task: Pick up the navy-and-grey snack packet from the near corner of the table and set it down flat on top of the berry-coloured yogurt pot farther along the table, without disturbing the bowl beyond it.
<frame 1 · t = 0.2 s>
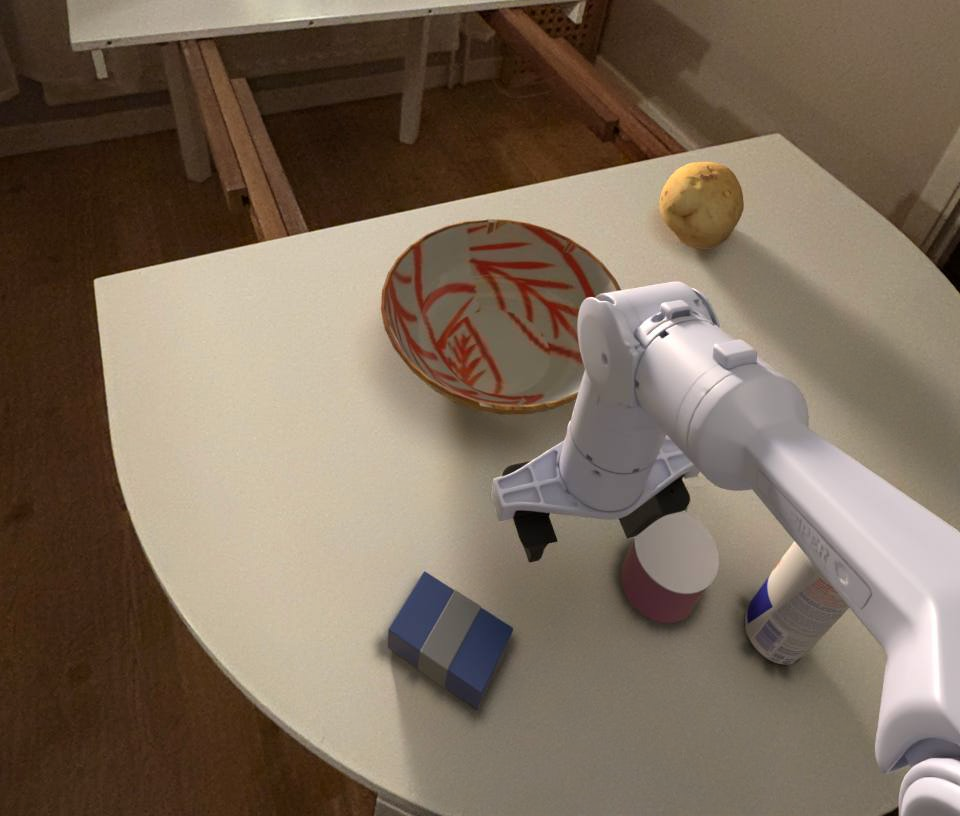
hand: (578, 536, 56), 11 cm above the table, tool pointing down, fingers open, 7 cm apart
bowl: (497, 353, 82), on the table
beverage can: (771, 634, 62), on the table
yogurt: (658, 582, 65), on the table
potato: (691, 230, 101), on the table
packet: (448, 646, 59), on the table
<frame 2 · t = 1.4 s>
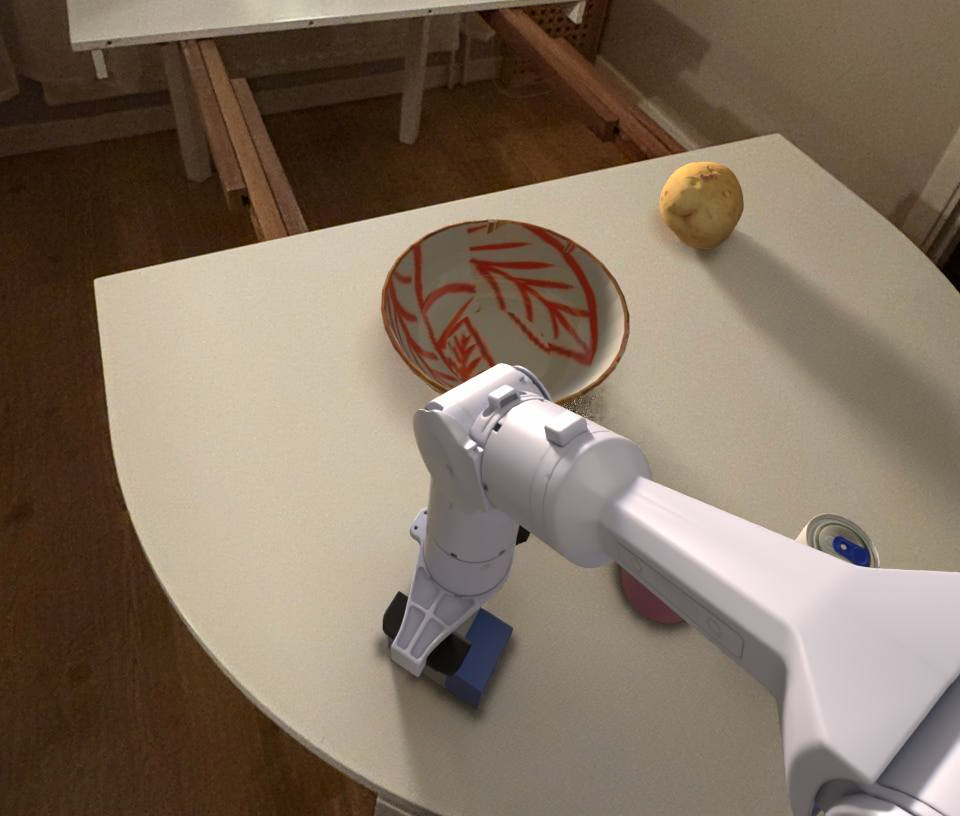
hand: (457, 608, 55), 7 cm above the table, tool pointing down, fingers open, 7 cm apart
nothing on the table moved.
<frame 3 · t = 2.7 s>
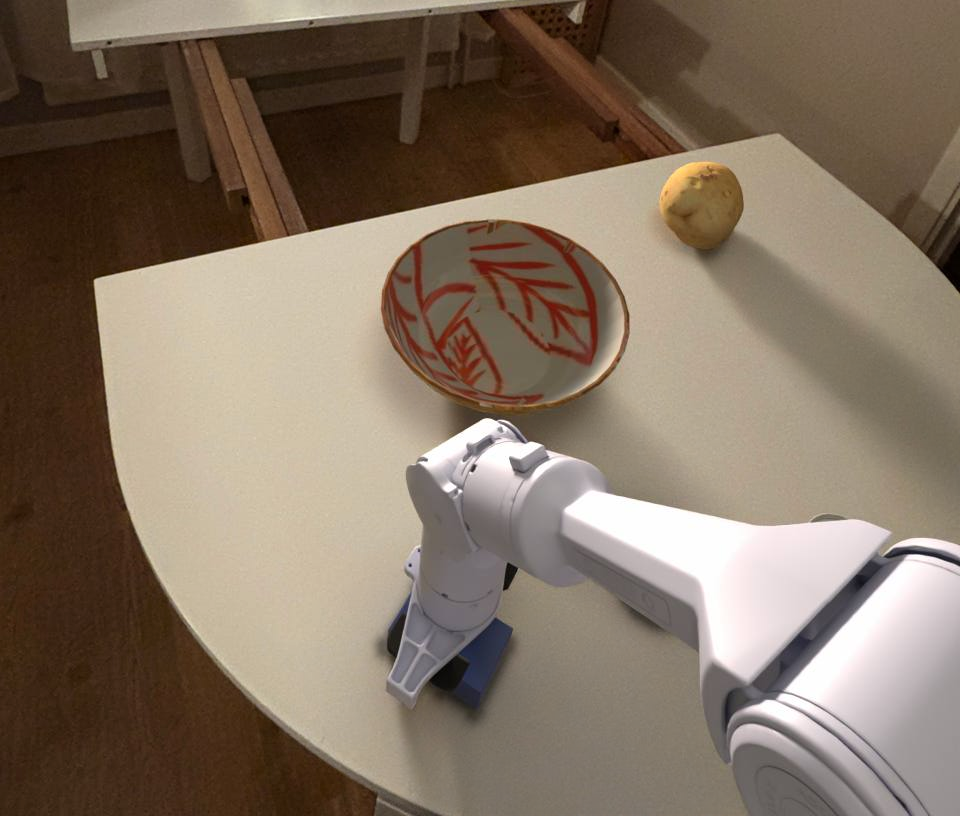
hand: (449, 638, 58), 2 cm above the table, tool pointing down, fingers closed on packet, 5 cm apart
packet: (448, 647, 59), on the table, touching gripper
everything else where it was.
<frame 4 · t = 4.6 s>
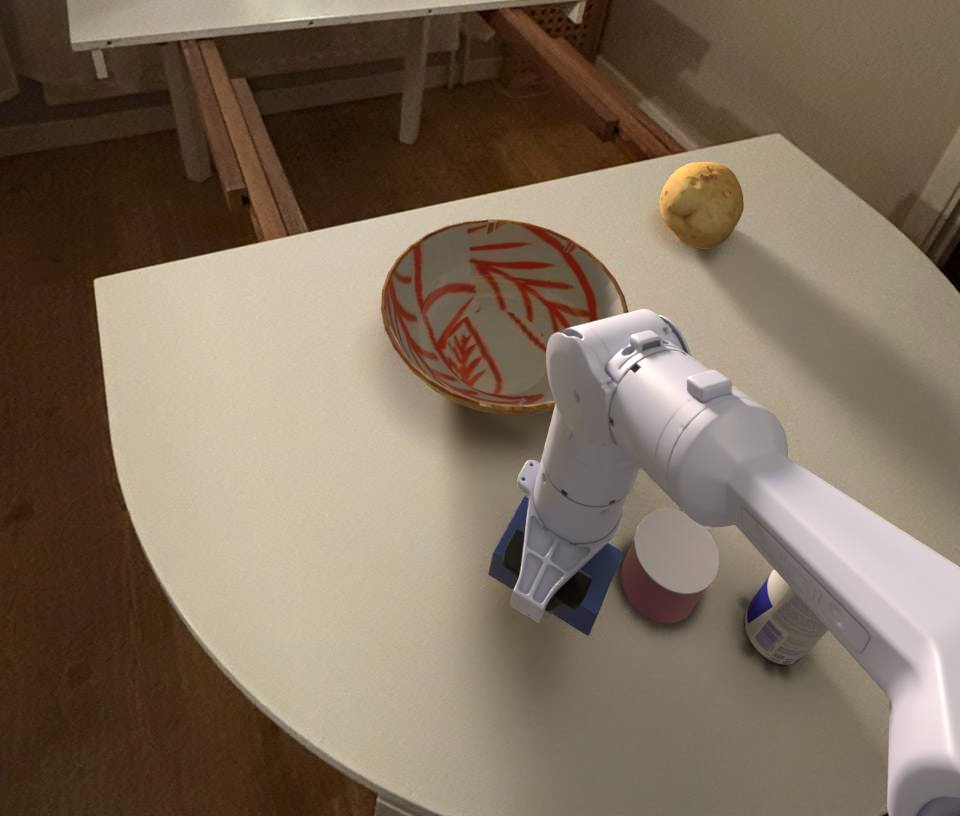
hand: (555, 564, 55), 10 cm above the table, tool pointing down, fingers closed on packet, 5 cm apart
packet: (551, 574, 56), point 8 cm above the table, touching gripper
everything else where it was.
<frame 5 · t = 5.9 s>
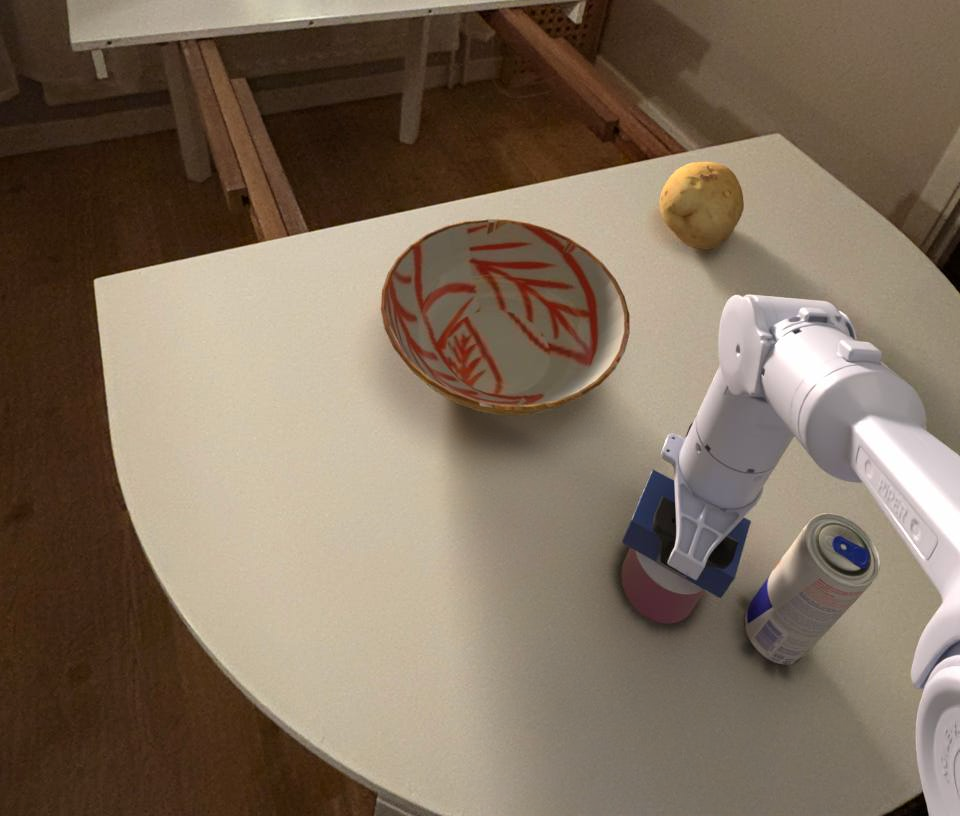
hand: (685, 532, 59), 9 cm above the table, tool pointing down, fingers closed on packet, 5 cm apart
packet: (679, 542, 60), point 7 cm above the table, touching gripper
everything else where it was.
when the fingers open (8 cm above the table, at t = 6.8 s): packet stays where it is, resting on yogurt.
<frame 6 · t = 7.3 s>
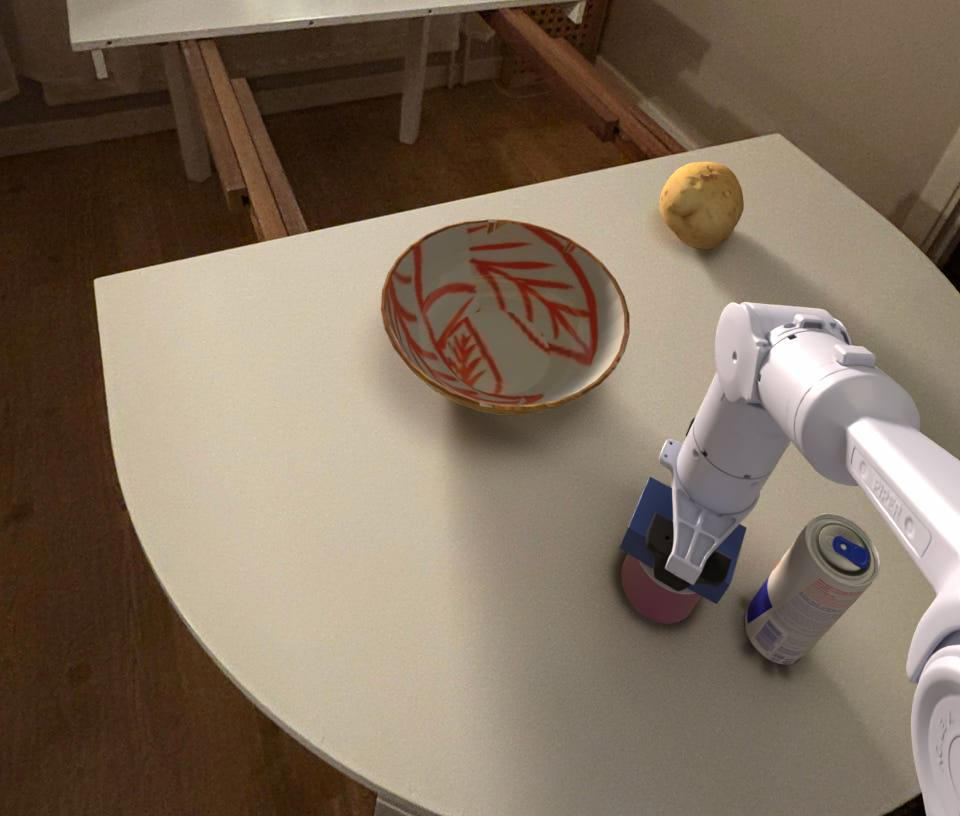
hand: (683, 537, 60), 8 cm above the table, tool pointing down, fingers open, 7 cm apart
yogurt: (658, 582, 65), on the table, touching packet
packet: (676, 548, 61), point 6 cm above the table, touching yogurt
everything else where it was.
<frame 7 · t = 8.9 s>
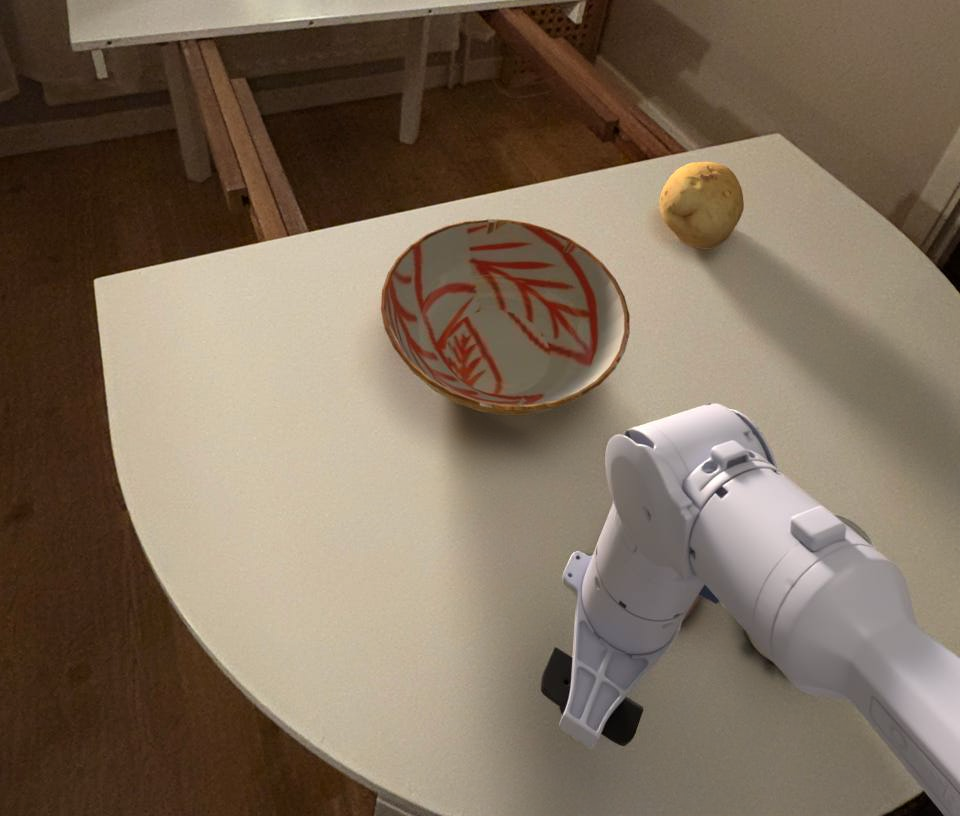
hand: (600, 659, 50), 10 cm above the table, tool pointing down, fingers open, 7 cm apart
nothing on the table moved.
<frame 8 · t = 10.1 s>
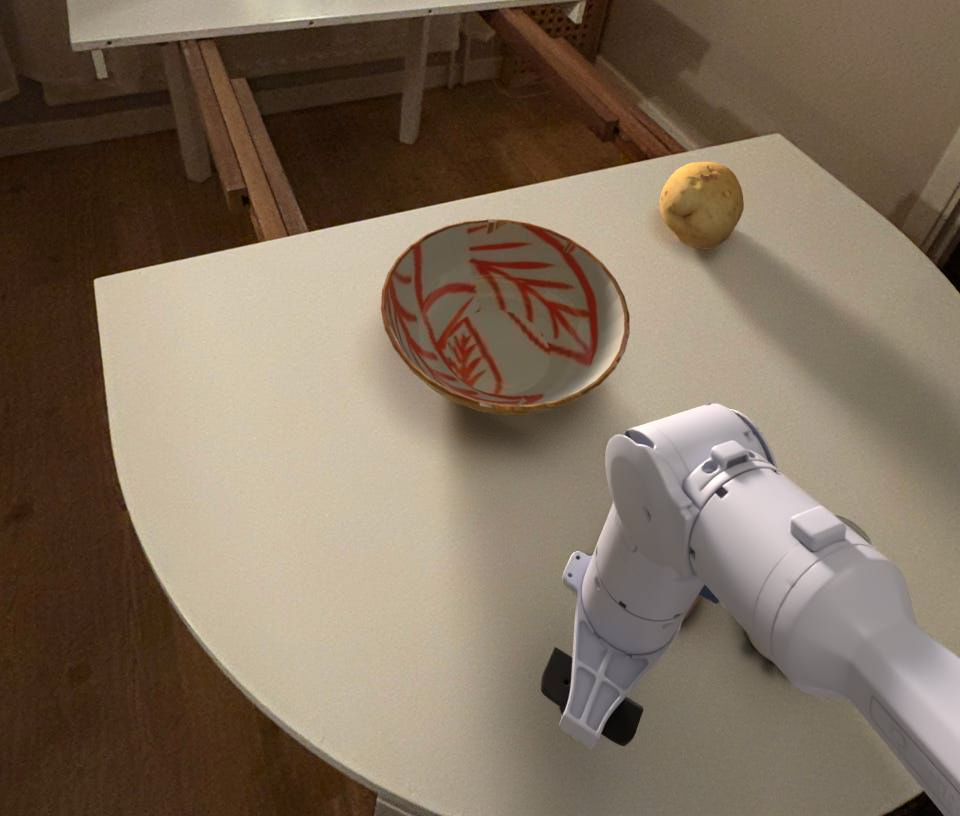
hand: (600, 659, 50), 10 cm above the table, tool pointing down, fingers open, 7 cm apart
nothing on the table moved.
at the end: packet 0.1 cm off-centre on the yogurt, point 6.2 cm above the yogurt's base; packet tilted 0°; bowl moved 0.2 cm from its start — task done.
